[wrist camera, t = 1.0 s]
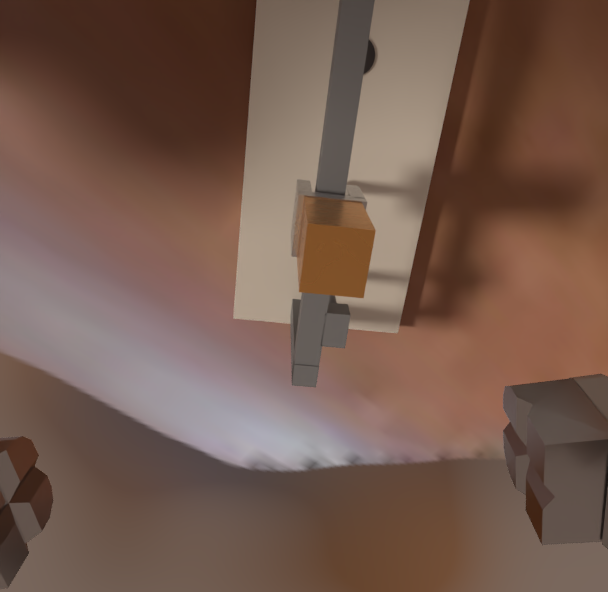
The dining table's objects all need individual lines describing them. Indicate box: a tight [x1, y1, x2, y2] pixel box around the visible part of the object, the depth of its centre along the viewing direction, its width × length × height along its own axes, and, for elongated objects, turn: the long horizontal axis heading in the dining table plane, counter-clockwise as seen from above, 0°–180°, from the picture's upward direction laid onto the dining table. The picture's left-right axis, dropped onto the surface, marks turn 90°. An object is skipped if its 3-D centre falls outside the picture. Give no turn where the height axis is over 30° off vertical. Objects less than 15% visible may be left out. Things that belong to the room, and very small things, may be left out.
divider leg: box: [291, 179, 376, 298], centre depth 33 cm, size 4×4×16 cm
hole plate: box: [233, 0, 470, 387], centre depth 36 cm, size 14×28×12 cm, turn 173°
